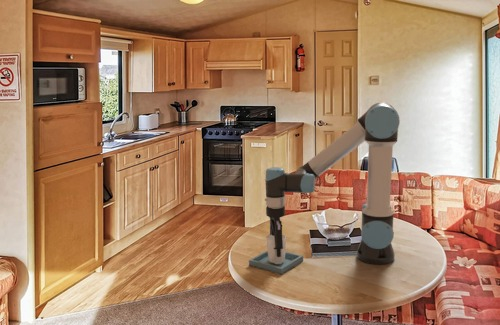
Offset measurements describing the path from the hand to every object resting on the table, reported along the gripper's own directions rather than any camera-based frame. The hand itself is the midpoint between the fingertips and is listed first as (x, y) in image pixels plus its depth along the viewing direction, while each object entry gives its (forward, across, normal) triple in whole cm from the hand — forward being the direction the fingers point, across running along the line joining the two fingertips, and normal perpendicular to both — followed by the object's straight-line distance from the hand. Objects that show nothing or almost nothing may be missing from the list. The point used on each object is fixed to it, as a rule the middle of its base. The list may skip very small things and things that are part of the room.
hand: (276, 259), depth 195 cm
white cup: (0, 0, 0) cm, 0 cm away
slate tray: (+2, 0, 0) cm, 2 cm away
